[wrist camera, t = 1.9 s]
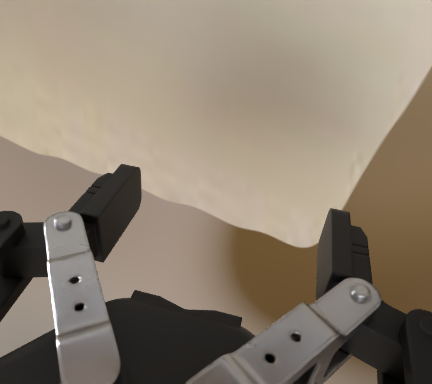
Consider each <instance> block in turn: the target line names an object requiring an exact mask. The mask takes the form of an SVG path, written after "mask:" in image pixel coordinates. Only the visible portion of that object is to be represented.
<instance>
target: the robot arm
mask: <svg viewBox="0 0 432 384" xmlns="http://www.w3.org/2000/svg"><path fill="white" fill-rule="evenodd" d="M140 203H141V171H140V168H139V167H134V166H130V165H125V164H121V165H120V166H119V167H118V169H117V170H116V171H115V172H114V173H113V174H112V173H107V174H105V175H103V176H101V177H99V178H98V179H97V180H96V181H95V182H94V183H93V184H92V186H91V187H89V189H88V190H87V191H86V193H84V194H83V195H82V196H81V197H80V199H79V200H78V201H77V202H76V203H75V204H74V205H73V206H72V207H71V209H70V210H69V211H64V212H59V213H55V214H53V215H51V216H50V217H48V218H47V219H46V220H45V222H40V223H38V222H36V223H23V220H22V217H21V215H20V214H18V213H16V212H13V211H1V212H0V321H1V320H2V319H3V318H4V316H5V315H6V313H7V312H8V311H9V309H10V308H11V307H12V305H13V304H14V303H15V301H16V300H17V299H18V297H19V296H20V295H21V293H22V292H23V291H24V289H25V288H26V286H27V285H28V284H29V282H30V281H31V280H32V278H33V277H49V283H50V291H51V298H52V307H53V315H54V323H55V329H53V330H52V331H50V332H48V333H46V334H44V335H42V336H40V337H38V338H37V339H35V340H33V341H31V342H29V343H27V344H25V345H23V346H21V347H20V348H18V349H16V350H14V351H12V352H10V353H8V354H7V355H5V356H3V357H1V358H0V384H323V383H324V382H325V381H326V380H327V379H328V378H330V377H331V376H332V375H333V374H334V373H335V372H336V371H337V370H338V369H339V368H340V367H341V366H342V365H343V364H344V363H345V362H346V361H347V360H348V359H350V358H351V356H355V357H356V358H358V359H360V360H362V361H363V362H365V363H367V364H369V365H370V366H372V367H374V368H376V369H377V379H378V384H432V313H431V312H429V311H426V310H421V309H416V310H412V311H410V312H409V313H408V314H405V313H403V312H401V311H399V310H397V309H395V308H393V307H391V306H389V305H388V304H386V303H385V302H384V301H382V300H381V295H380V293H379V291H378V290H377V289H376V288H375V287H374V286H373V283H372V275H371V266H370V258H369V250H368V241H367V236H366V235H365V234H364V232H363V231H362V229H361V228H360V227H357V226H352V225H351V222H350V213H349V212H346V211H342V210H337V209H332V208H330V210H329V212H328V215H327V218H326V221H325V224H324V227H323V230H322V233H321V237H320V240H319V245H318V254H317V255H318V257H317V283H316V301H315V302H314V303H312V304H311V305H308V304H307V303H305V302H304V303H301V304H299V305H298V306H297V307H295V308H294V309H293V310H291V311H290V312H288V313H287V314H286V315H284V316H283V317H281V318H280V319H279V320H277V321H276V322H275V323H273V324H272V325H271V326H269V327H268V328H266V329H265V330H264V331H262V332H261V333H260V334H258V335H257V336H255V335H253V334H252V333H251V332H250V331H248V330H247V329H245V328H243V327H241V321H242V317H238V316H234V315H230V314H226V313H222V312H218V311H213V310H187V309H183V308H181V307H179V306H177V305H176V304H174V303H172V302H170V301H168V300H166V299H164V298H162V297H160V296H156V295H152V294H149V293H144V292H140V291H137V290H135V291H134V292H133V294H132V296H131V298H121V299H115V300H111V301H108V302H105V301H104V297H103V293H102V289H101V285H100V281H99V277H98V273H97V269H96V265H95V261H99V262H104V261H105V259H106V258H107V256H108V255H109V253H110V252H111V250H112V249H113V247H114V246H115V244H116V243H117V241H118V240H119V238H120V237H121V235H122V234H123V232H124V231H125V229H126V228H127V226H128V225H129V223H130V221H131V220H132V219H133V217H134V215H135V214H136V212H137V211H138V209H139V207H140ZM94 260H95V261H94Z"/></svg>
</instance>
